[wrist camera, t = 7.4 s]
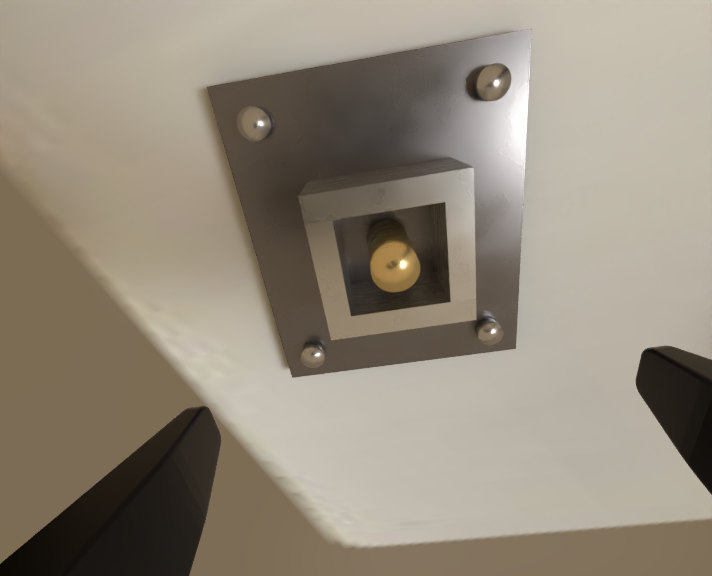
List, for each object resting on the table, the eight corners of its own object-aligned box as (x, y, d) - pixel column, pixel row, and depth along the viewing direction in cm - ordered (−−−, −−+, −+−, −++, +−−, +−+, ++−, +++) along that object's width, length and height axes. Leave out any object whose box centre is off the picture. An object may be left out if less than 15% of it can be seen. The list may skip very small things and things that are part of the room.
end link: (451, 157, 15) (473, 167, 12) (457, 287, 17) (476, 320, 15) (307, 181, 15) (298, 196, 12) (334, 305, 18) (331, 340, 15)
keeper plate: (521, 33, 14) (590, 1, 10) (509, 339, 20) (548, 395, 16) (214, 88, 14) (162, 79, 10) (294, 368, 20) (280, 428, 16)
